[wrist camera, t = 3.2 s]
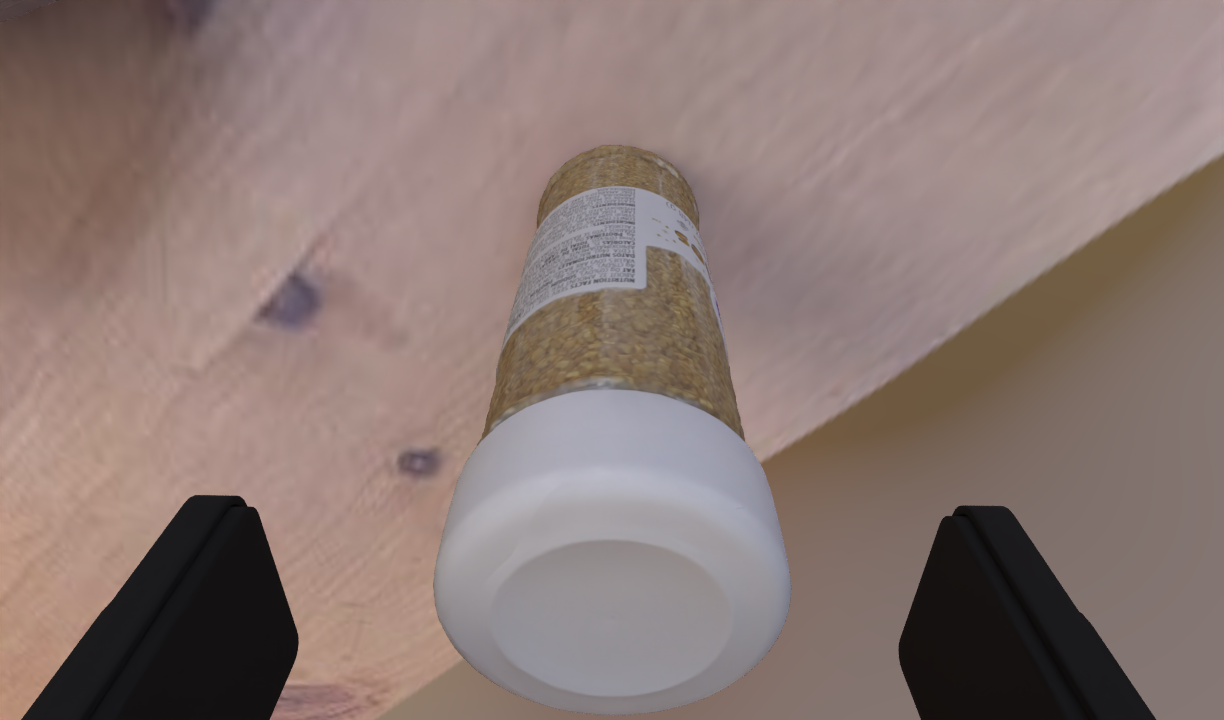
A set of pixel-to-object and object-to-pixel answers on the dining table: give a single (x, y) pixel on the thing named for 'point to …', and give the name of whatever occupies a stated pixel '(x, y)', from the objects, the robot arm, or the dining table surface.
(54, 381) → the dining table surface
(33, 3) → the pan
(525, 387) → the sprinkles bottle
